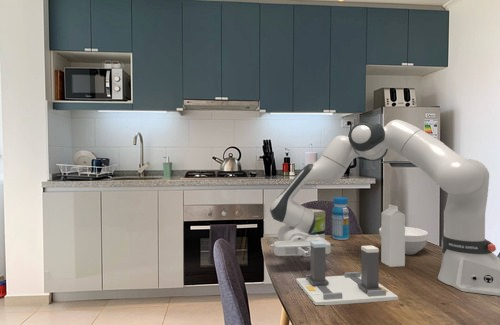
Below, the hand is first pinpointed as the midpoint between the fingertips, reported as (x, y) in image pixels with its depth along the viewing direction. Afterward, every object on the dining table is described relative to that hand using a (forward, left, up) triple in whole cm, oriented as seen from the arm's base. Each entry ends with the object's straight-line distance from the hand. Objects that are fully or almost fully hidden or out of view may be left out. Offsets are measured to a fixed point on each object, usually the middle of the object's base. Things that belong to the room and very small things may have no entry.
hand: (308, 254), depth 111 cm
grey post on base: (-20, +4, -6) cm, 22 cm away
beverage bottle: (+6, -59, -8) cm, 60 cm away
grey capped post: (-5, +6, -6) cm, 10 cm away
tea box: (+18, -45, -8) cm, 49 cm away
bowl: (-23, -50, -8) cm, 55 cm away
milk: (-22, -29, -8) cm, 37 cm away
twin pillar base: (-13, +5, -8) cm, 16 cm away
